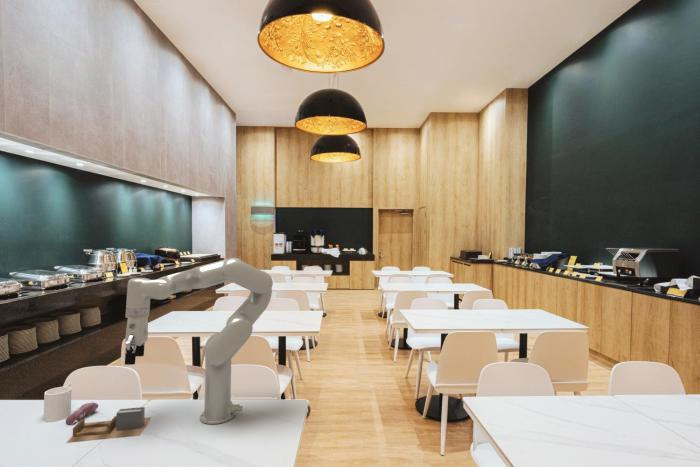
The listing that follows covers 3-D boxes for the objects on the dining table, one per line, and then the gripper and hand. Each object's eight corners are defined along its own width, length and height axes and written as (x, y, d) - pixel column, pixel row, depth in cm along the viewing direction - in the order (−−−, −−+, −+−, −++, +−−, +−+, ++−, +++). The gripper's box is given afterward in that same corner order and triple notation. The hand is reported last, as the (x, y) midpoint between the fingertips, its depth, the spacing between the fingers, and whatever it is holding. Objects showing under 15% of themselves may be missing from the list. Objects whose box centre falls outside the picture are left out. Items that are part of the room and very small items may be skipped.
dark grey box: (144, 423, 138) (144, 406, 138) (141, 428, 134) (141, 410, 134) (119, 426, 136) (120, 408, 136) (116, 430, 132) (116, 412, 133)
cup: (81, 407, 153) (82, 382, 153) (62, 421, 141) (62, 394, 141) (59, 408, 152) (60, 383, 152) (38, 422, 140) (38, 395, 140)
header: (151, 419, 143) (151, 408, 143) (139, 438, 129) (140, 426, 129) (85, 425, 138) (85, 414, 138) (65, 445, 124) (66, 433, 124)
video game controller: (72, 429, 138) (80, 413, 138) (63, 423, 139) (70, 406, 138) (95, 417, 148) (102, 402, 147) (86, 411, 149) (94, 395, 148)
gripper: (141, 317, 130) (138, 367, 129) (155, 308, 147) (152, 353, 146) (117, 316, 128) (113, 368, 128) (134, 308, 145) (131, 353, 144)
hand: (134, 360), depth 137 cm, fingers open, 9 cm apart
